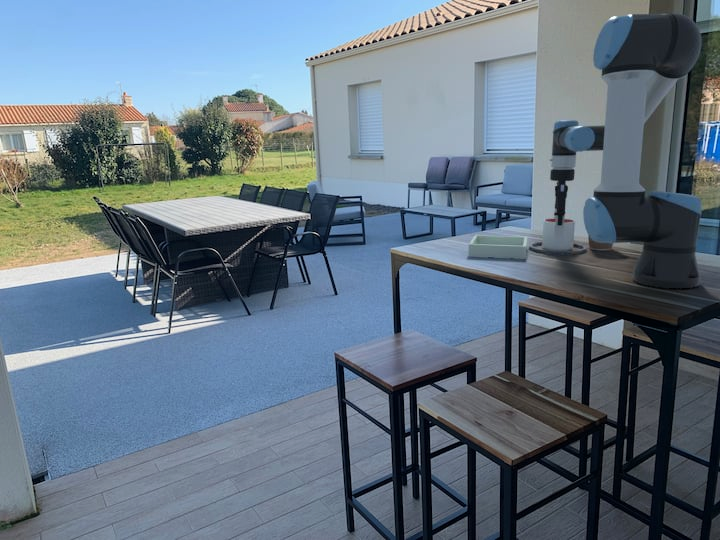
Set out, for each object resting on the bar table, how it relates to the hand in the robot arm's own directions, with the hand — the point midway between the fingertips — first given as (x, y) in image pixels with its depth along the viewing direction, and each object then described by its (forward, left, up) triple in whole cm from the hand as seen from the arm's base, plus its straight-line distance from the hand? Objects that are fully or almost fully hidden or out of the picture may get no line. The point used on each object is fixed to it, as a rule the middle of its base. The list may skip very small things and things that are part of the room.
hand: (558, 231), depth 176 cm
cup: (0, 0, -6) cm, 6 cm away
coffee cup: (+4, -14, -6) cm, 16 cm away
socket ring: (0, 0, -6) cm, 6 cm away
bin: (-10, +19, -6) cm, 22 cm away
